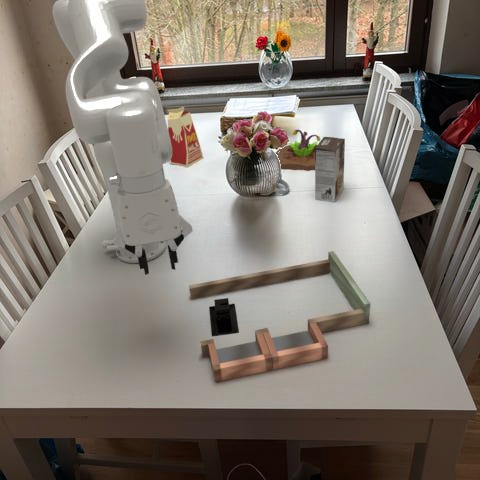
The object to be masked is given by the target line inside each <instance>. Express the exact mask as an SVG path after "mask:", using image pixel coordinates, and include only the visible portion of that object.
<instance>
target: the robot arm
mask: <svg viewBox="0 0 480 480" xmlns="http://www.w3.org/2000/svg"><path fill="white" fill-rule="evenodd" d="M147 9H148V8H147V6H146V1H145V0H56V1H55V2H54V3H53V5H52V16H53V17H52V18H53V20H54V24H55V27H56V29H57V31H58V34H59V36H60V39H61V40H62V42H63V43H64V45H65V46H66V48H67V50H68V52H69V53H70V55H71V56H72V58H73V59H74V62H73V63H72V65H71V67H70V69H69V71H68V73H67V77H66V81H65V98H66V103H67V105H68V110H69V114H70V118H71V122H72V125H73V128H74V131H75V133H76V135H77V137H78V138H79V140H81V142H83V143H85V144H87V145H93V153H94V156H95V157H94V158H95V159H96V162H97V164H98V167H99V169H100V172H101V175H102V177H103V179H104V184H105V186H106V189H107V194H108V198H109V201H110V202H109V203H110V205H111V210H112V214H113V217H114V223H115V226H116V230H117V232H116V233H115V236H114V238H112V239H111V238H110V239H106V240H105V239H104V240H101V243H102V244H101V245H102V248H103V249H105V248H106V250H107V251H106V252H111V251H115V253H116V256H117V258H118V259H119V260H120V261H122V262H125V263H129V264H138V266H139V269H140V270H143V271H144V275H145V276H146V275H148V274H150V272H149V263H148V261H151V260H153V259H156V258H157V257H160V255H161V254H163V252H165V249H166V242H167V250H168V257H169V263H170V267H171V270H176V263H179V259H178V255H177V254H178V253H177V252H178V251H177V250H178V247H179V246H180V245H181V243H182V242H184V240H185V238H187V237H188V236H189V235H190V234H191V233H193V230H194V229H193V226H192V224H190V223H189V222H188V221H187V220H186V219H185V218H184V217H182V215H180V213H179V212H180V211H179V209H178V203H177V199H176V197H175V192H174V191H173V187H172V185H171V183H170V181H169V179H167V178H166V177H165V176H166V175H165V171H164V164H167V163H168V162H171V161H170V160H171V157H172V145H171V141H170V136H169V132H168V123H167V120H166V116H165V113H164V112H165V111H164V108H163V104H162V99H161V97H160V93H159V90H158V88H157V85H156V84H155V83H154V81H153V80H152V79H151V78H149V77H146V76H136V77H130V78H122V75H121V72H120V70H121V69H123V68H124V67H125V65H126V63H127V62H128V60H129V59H128V58H129V46H128V44H127V42H126V40H125V36H124V34H130V33H134V32H135V33H136V32H139V31H141V30H143V29H144V28H145V27H146V25H147V21H148V11H147ZM85 97H86V98H85Z"/></svg>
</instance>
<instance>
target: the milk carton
mask: <svg viewBox="0 0 480 480" xmlns="http://www.w3.org/2000/svg"><path fill="white" fill-rule="evenodd" d="M167 112H168V117H167V128H168V132H169V136H170V141H171V145H172V157H171V160H170V161H169V162H170V165H175V166H180V167H183V168H189V167H191V166H192V165H195V164H197V163H198V162H200V161H202V160H203V159H204V155H203V151H202V147H201V144H200V141H199V137H198V134H197V131H196V128H195V125H194V121H193V118H192V115H191V112H190V111H187V110H185V106H182V107H178V108H175V109H167Z"/></svg>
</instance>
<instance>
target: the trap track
mask: <svg viewBox="0 0 480 480" xmlns="http://www.w3.org/2000/svg"><path fill="white" fill-rule="evenodd" d="M327 257H328V258H327V259H323V260H317V261H313V262H306V263H302V264H296V265H292V266H291V265H290V266H286V267H280V268H274V269H269V270H266V271H265V270H264V271H260V272H253V273H247V274H244V275H238V276H233V277H226V278H222V279H216V280H210V281H206V282H205V281H204V282H200V283H199V282H198V283H195V284H194V283H193V284H191V285H188V288H189V289H188V290H189V294H190V300H192V301H193V300H196V299H200V298H201V299H202V298H206V297H211V296H216V295H223V294H227V293H231V292H232V293H233V292H238V291H243V290H247V289H248V290H249V289H254V288H259V287H263V286H269V285H275V284H279V283H286V282H290V281H295V280H301V279H305V278H311V277H317V276H322V275H326V274H330V275H331V277H332V278H333V280H334V282H335V283H336V285H337V286H338V287H339V290H340V291H341V292H342V295H344V297H345V298H346V300H347V302H348V303H349V304H350V306H351V308H352V310H349V311H343V312H338V313H333V314H329V315H324V316H319V317H315V318H314V317H312V318H310V319H309V318H308V319H307V330H304V331H299V332H295V333H288V334H285V335H280V336H275V337H272V335H271V333H270V331H269V328H268V327H264V328H260V329H254V336H255V341H251V342H247V343H246V342H245V343H241V344H236V345H231V346H227V347H226V346H225V347H222V348H221V347H220V348H216V344H215V339H214V338H210V339H205V340H201V341H199V342H200V347H201V349H200V350H201V355H202V358H208V357H209V358H210V363H211V366H212V367H211V368H212V371H213V376H214V377H213V378H214V381H215V383H218V382H221V381H227V380H231V379H237V378H241V377H246V376H250V375H255V374H259V373H263V372H269V371H273V370H278V369H282V368H283V369H284V368H287V367H292V366H296V365H301V364H305V363H311V362H315V361H319V360H324V359H328V358H329V345H328V343H327V341H326V339H325V337H324V336H323V333H328V332H333V331H336V330H343V329H347V328H351V327H357V326H361V325H365V324H366V325H367V324H369V323H370V315H371V314H370V313H371V312H370V311H371V302H370V300H369V299H368V297H367V296H366V295H365V294H364V292H363V291H362V289H361V288H360V286H359V285H358V284H357V282H356V281H355V279H354V278H353V276H352V275H351V274H350V272H349V270H348V269H347V268H346V267H345V264H343V263H342V261H341V259H340V258H339V256H338V255H337V253H336V252H335V251H334V250H332V251H328V253H327Z"/></svg>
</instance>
